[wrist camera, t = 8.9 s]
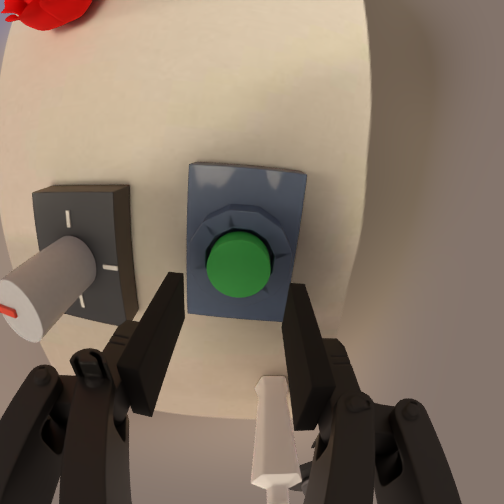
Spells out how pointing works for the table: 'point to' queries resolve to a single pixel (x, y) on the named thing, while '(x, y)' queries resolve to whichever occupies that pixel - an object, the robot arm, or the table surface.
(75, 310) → the dial panel
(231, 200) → the button block
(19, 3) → the flower
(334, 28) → the table surface
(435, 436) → the robot arm
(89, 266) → the dial
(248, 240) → the button
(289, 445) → the perfume bottle
